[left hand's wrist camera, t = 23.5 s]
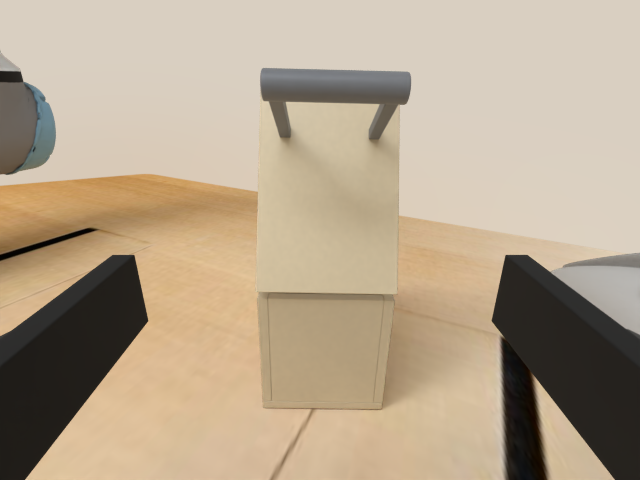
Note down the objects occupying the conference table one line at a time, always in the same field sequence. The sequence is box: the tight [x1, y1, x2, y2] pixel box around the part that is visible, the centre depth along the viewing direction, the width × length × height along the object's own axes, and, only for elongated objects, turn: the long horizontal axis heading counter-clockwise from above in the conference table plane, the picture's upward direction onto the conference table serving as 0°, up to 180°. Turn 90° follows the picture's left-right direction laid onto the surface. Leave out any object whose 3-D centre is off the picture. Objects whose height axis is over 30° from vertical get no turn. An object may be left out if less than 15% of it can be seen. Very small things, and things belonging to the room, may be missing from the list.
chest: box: [257, 292, 395, 409], centre depth 31 cm, size 13×9×10 cm
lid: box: [255, 68, 411, 295], centre depth 20 cm, size 13×9×8 cm
